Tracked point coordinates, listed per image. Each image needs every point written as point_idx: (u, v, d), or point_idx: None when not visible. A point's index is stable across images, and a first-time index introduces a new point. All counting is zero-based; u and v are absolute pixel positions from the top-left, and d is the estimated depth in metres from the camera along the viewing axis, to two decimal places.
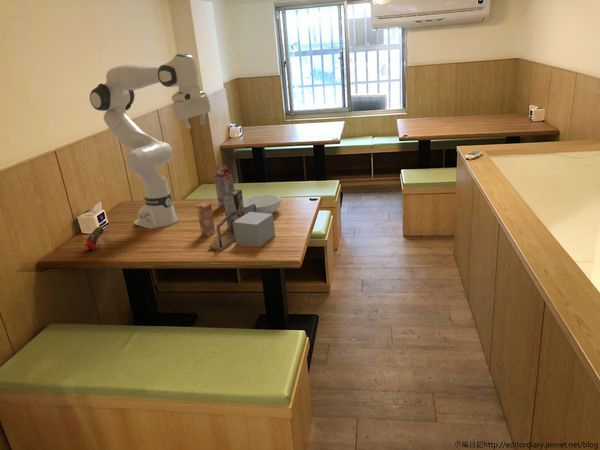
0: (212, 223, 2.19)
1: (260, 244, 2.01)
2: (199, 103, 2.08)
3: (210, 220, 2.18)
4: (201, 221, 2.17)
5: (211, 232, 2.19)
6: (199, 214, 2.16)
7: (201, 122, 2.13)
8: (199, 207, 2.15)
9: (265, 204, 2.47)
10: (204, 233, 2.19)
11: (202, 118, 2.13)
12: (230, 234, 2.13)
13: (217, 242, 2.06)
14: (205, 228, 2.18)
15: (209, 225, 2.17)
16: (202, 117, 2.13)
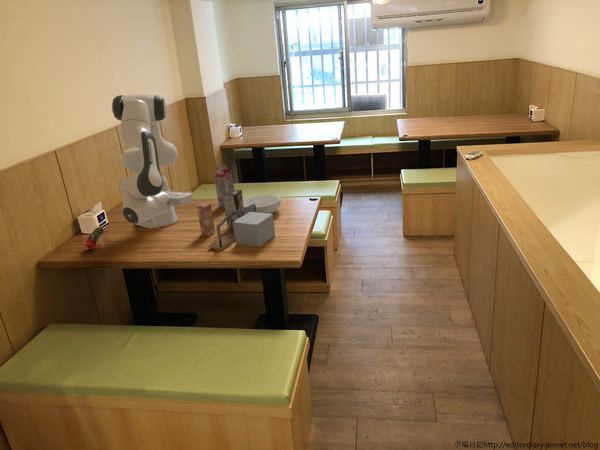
0: (212, 223, 2.19)
1: (260, 244, 2.01)
2: None
3: (210, 220, 2.18)
4: (201, 221, 2.17)
5: (211, 232, 2.19)
6: (199, 214, 2.16)
7: None
8: (199, 207, 2.15)
9: (265, 204, 2.47)
10: (204, 233, 2.19)
11: None
12: (230, 234, 2.13)
13: (217, 242, 2.06)
14: (205, 228, 2.18)
15: (209, 225, 2.17)
16: None
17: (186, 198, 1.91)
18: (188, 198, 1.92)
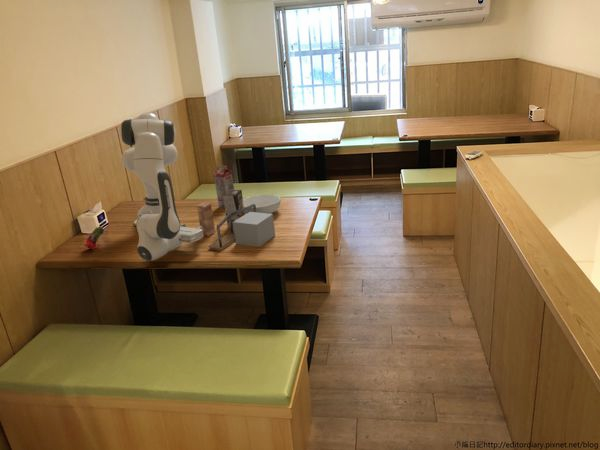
0: (212, 223, 2.19)
1: (260, 244, 2.01)
2: None
3: (210, 220, 2.18)
4: (201, 221, 2.17)
5: (211, 232, 2.19)
6: (199, 214, 2.16)
7: None
8: (199, 207, 2.15)
9: (265, 204, 2.47)
10: (204, 233, 2.19)
11: None
12: (230, 234, 2.13)
13: (217, 242, 2.06)
14: (205, 228, 2.18)
15: (209, 225, 2.17)
16: None
17: (197, 235, 1.99)
18: (199, 234, 2.00)
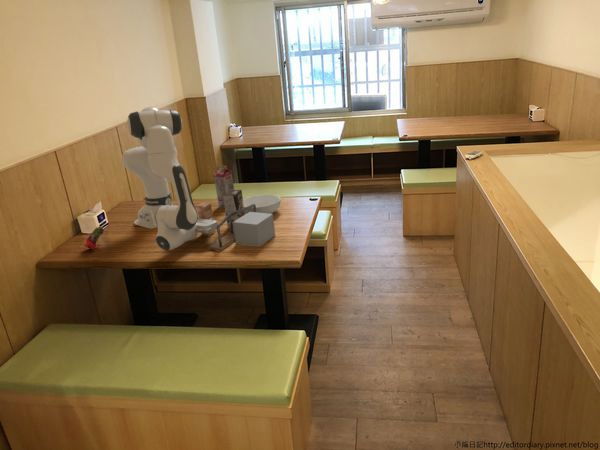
0: None
1: (260, 244, 2.01)
2: None
3: None
4: None
5: (211, 232, 2.19)
6: (199, 214, 2.16)
7: None
8: (199, 207, 2.15)
9: (265, 204, 2.47)
10: (204, 233, 2.19)
11: None
12: (230, 234, 2.13)
13: (217, 242, 2.06)
14: None
15: None
16: None
17: (212, 226, 2.07)
18: (214, 225, 2.08)
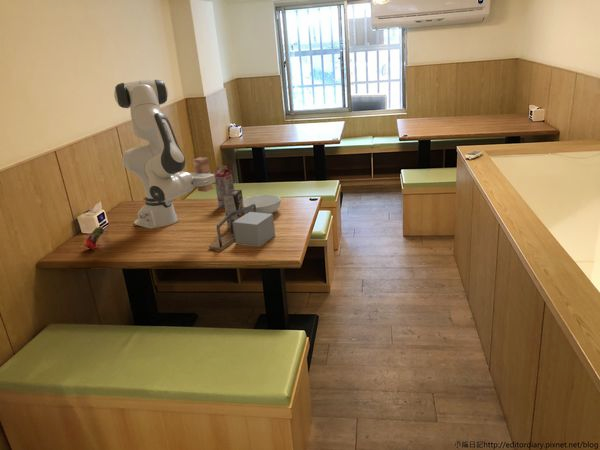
0: None
1: (260, 244, 2.01)
2: None
3: None
4: None
5: (208, 188, 2.10)
6: (195, 169, 2.07)
7: None
8: (195, 161, 2.06)
9: (265, 204, 2.47)
10: (200, 190, 2.10)
11: None
12: (230, 234, 2.13)
13: (217, 242, 2.06)
14: None
15: None
16: None
17: (209, 179, 1.98)
18: (211, 178, 1.99)
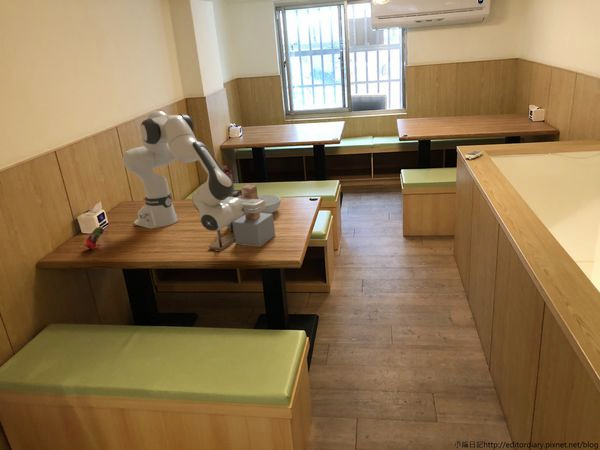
0: None
1: (260, 244, 2.01)
2: None
3: None
4: None
5: (256, 217, 2.04)
6: (244, 197, 2.01)
7: None
8: (244, 189, 1.99)
9: (265, 204, 2.47)
10: (248, 218, 2.04)
11: None
12: (230, 234, 2.13)
13: (217, 242, 2.06)
14: None
15: None
16: None
17: (260, 205, 1.91)
18: (261, 204, 1.92)
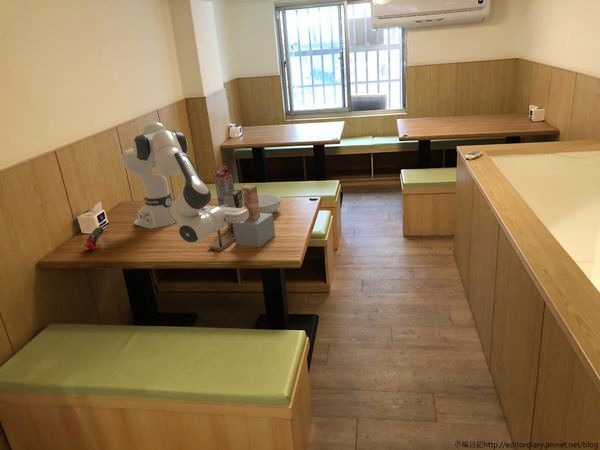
0: (257, 207, 2.04)
1: (260, 244, 2.01)
2: None
3: (256, 203, 2.02)
4: (246, 204, 2.02)
5: (256, 217, 2.04)
6: (244, 197, 2.01)
7: None
8: (244, 189, 1.99)
9: (265, 204, 2.47)
10: (248, 218, 2.04)
11: None
12: (230, 234, 2.13)
13: (217, 242, 2.06)
14: (250, 212, 2.02)
15: (254, 208, 2.02)
16: None
17: (243, 215, 1.81)
18: (245, 214, 1.82)
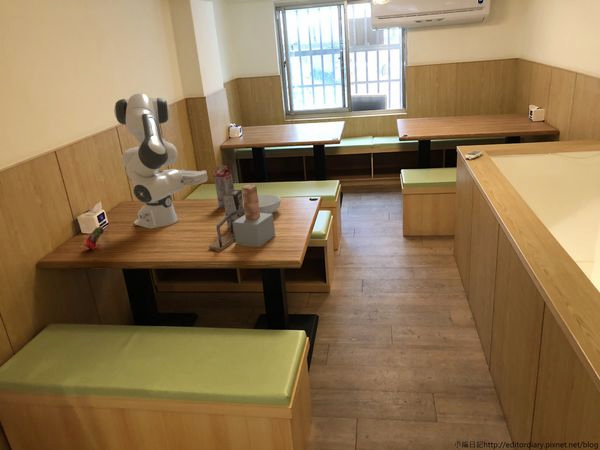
0: (257, 207, 2.04)
1: (260, 244, 2.01)
2: None
3: (256, 203, 2.02)
4: (246, 204, 2.02)
5: (256, 217, 2.04)
6: (244, 197, 2.01)
7: None
8: (244, 189, 1.99)
9: (265, 204, 2.47)
10: (248, 218, 2.04)
11: None
12: (230, 234, 2.13)
13: (217, 242, 2.06)
14: (250, 212, 2.02)
15: (254, 208, 2.02)
16: None
17: (201, 177, 1.79)
18: (203, 176, 1.80)
